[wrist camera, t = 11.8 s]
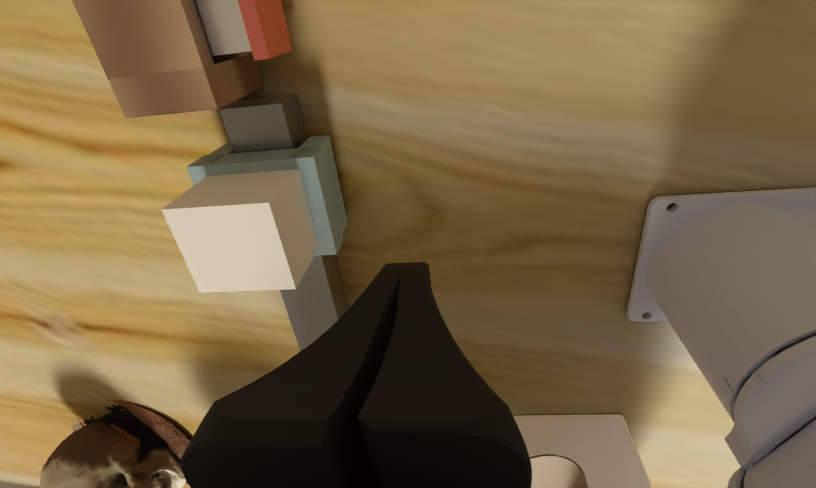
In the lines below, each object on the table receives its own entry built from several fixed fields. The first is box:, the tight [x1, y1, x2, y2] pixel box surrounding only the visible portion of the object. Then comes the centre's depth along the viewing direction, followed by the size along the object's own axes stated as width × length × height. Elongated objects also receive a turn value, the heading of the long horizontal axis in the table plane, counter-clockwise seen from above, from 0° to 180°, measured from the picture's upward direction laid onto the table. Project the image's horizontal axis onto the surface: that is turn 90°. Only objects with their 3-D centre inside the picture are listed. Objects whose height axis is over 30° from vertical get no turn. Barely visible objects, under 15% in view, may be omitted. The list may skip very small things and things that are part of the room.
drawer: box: [193, 0, 293, 60], centre depth 16 cm, size 6×3×3 cm, turn 97°
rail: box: [219, 94, 348, 351], centre depth 24 cm, size 3×17×2 cm, turn 7°
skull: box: [40, 399, 191, 488], centre depth 37 cm, size 12×10×10 cm
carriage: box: [161, 135, 348, 292], centre depth 19 cm, size 6×5×7 cm
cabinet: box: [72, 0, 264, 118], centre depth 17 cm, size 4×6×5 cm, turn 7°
